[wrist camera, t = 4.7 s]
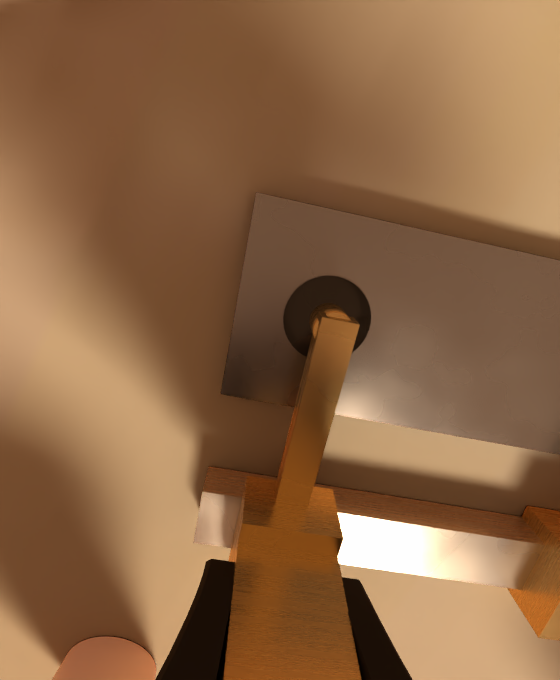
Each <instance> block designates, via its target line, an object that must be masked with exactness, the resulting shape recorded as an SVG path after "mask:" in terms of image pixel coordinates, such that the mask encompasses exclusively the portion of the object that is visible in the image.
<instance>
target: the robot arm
mask: <svg viewBox="0 0 560 680" xmlns="http://www.w3.org/2000/svg"><path fill="white" fill-rule="evenodd" d="M234 568H235V562H230V561H223V560H215V559H210V560H208V561H207V562H206V565H205V569H204V573H203V576H202V579H201V582H200V585H199V588H198V590H197V593H196V596H195V598H194V601H193V603H192V605H191V608H190V610H189V612H188V615H187V617H186V619H185V621H184V623H183V626H182V628H181V630H180V632H179V634H178V636H177V638H176V640H175V642H174V645H173V647H172V649H171V651H170V653H169V655H168V657H167V659H166V661H165V663H164V664H163V666H162V668H161V670H160V672H159V674H158V676H157V677H156V679H155V680H216V678H217V672H218V667H219V662H220V657H221V652H222V647H223V642H224V637H225V631H226V626H227V621H228V616H229V611H230V606H231V601H232V594H233V582H234ZM342 581H343V587H344V592H345V597H346V602H347V607H348V615H349V619H350V623H351V628H352V633H353V638H354V643H355V648H356V654H357V659H358V664H359V669H360V674H361V679H362V680H412V678H411V676H410V674H409V673H408V671H407V669H406V667H405V666H404V664H403V662H402V660H401V659H400V657H399V655H398V653H397V651H396V649H395V648H394V646H393V644H392V642H391V640H390V638H389V636H388V634H387V633H386V631H385V629H384V627H383V625H382V623H381V621H380V619H379V617H378V615H377V613H376V611H375V609H374V607H373V605H372V604H371V602H370V600H369V598H368V596H367V594H366V592H365V590H364V588H363V586H362V584H361V582H360V581H359V580H357V579H350V578H343V577H342Z"/></svg>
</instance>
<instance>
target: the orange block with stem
mask: <svg viewBox="0 0 560 680" xmlns="http://www.w3.org/2000/svg"><path fill="white" fill-rule="evenodd" d="M309 323H310V328H311V330H312V333H313V334H312V338H311V342H310V347H309V351H308V355H307V359H306V363H305V367H304V371H303V375H302V379H301V383H300V387H299V391H298V395H297V399H296V403H295V407H294V411H293V415H292V419H291V424H290V428H289V432H288V436H287V440H286V444H285V448H284V452H283V456H282V460H281V464H280V468H279V472H278V476H277V480H272V479H266V478H259V477H253V476H247V478H246V482H245V487H244V492H243V496H242V501H241V505H240V510H239V515H238V519H237V524H236V529H235V533H234V538H233V542H232V547H231V552H230V556H229V561H230V562H235V568H234V582H233V594H232V601H231V606H230V611H229V616H228V621H227V626H226V631H225V637H224V642H223V647H222V652H221V657H220V662H219V667H218V672H217V678H216V680H362V679H361V674H360V669H359V664H358V659H357V654H356V648H355V643H354V638H353V633H352V628H351V623H350V619H349V615H348V607H347V602H346V597H345V592H344V587H343V581H342V576H341V571H340V566H339V561H338V554H339V551H340V548H341V545H342V542H343V539H344V538H343V533H342V529H341V524H340V520H339V515H338V511H337V507H336V502H335V498H334V493H333V489H328V488H321V487H315V486H314V484H315V480H316V477H317V473H318V470H319V466H320V463H321V459H322V456H323V452H324V449H325V445H326V442H327V438H328V435H329V431H330V428H331V424H332V420H333V417H334V413H335V410H336V406H337V403H338V399H339V396H340V392H341V389H342V385H343V382H344V378H345V375H346V371H347V368H348V364H349V361H350V357H351V354H352V350H353V347H354V343H355V340H356V336H357V333H358V329H359V326H360V324H359V323H358V322H357V321H356V320H355V318H354V317H350V316H347V314H346V313H345V312H344V311H343V309H342V308H341V307H340V306H338V305H336V304H333V303H324V304H321V305H319V306H317V307H316V308H315V309H314V310H313V312H312V313H311V315H310V320H309Z"/></svg>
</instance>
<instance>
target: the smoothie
mask: <svg viewBox="0 0 560 680" xmlns="http://www.w3.org/2000/svg"><path fill="white" fill-rule="evenodd" d="M155 676H156V665H155V662H154V660H153V658H152V656H151V655H150V654H149V653H148V652H147V651H146V650H145V649H144V648H142V647H141V646H139V645H138V644H136V643H134V642H131V641H129V640H126V639H122V638H117V637H107V636H105V637H94V638H90V639H87V640H84V641H82V642H80V643H78V644H76V645H75V646H74V647H72V648H71V650H70V651H69V652H68V654H67V655H66V657H65V659H64V660H63V662H62V664H61V665H60V667H59V669H58V670H57V672H56V674H55V675H54V677H53V679H52V680H155Z"/></svg>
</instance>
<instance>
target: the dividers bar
mask: <svg viewBox="0 0 560 680" xmlns="http://www.w3.org/2000/svg"><path fill="white" fill-rule="evenodd" d="M247 476H253V477H259V478H266V479H272V480H277V477H272V476H266V475H260V474H254V473H247V472H241V471H235V470H229V469H223V468H217V467H210V466H209V468H208V472H207V476H206V479H205V483H204V487H203V491H202V497H201V502H200V508H199V514H198V519H197V525H196V531H195V537H194V542H193V543H199V544H206V545H213V546H220V547H227V548H231V547H232V542H233V538H234V533H235V529H236V524H237V519H238V515H239V510H240V505H241V501H242V496H243V492H244V487H245V482H246V478H247ZM314 486H315V487H321V488H328V489H333V493H334V498H335V502H336V507H337V511H338V515H339V520H340V524H341V529H342V533H343V538H344V539H343V542H342V545H341V548H340V551H339V554H338V561H339V564H345V565H352V566H359V567H366V568H373V569H379V570H386V571H393V572H400V573H407V574H414V575H421V576H428V577H435V578H442V579H449V580H456V581H463V582H470V583H476V584H483V585H490V586H497V587H504V588H507V589H508V590H509V592H510V594H511V595H512V597H513V598H514V600H515V601H516V603H517V605H518V606H519V608H520V609H521V611H522V612H523V614H524V616H525V617H526V619H527V620H528V622H529V623H530V625H531V627H532V628H533V630H534V631H535V633H536V634H537V636H538V638H544V639H552V640H559V641H560V511H557V510H551V509H545V508H538V507H532V506H527V507H526V509H525V511H524V513H523V515H522V517H519V516H513V515H507V514H501V513H495V512H489V511H482V510H476V509H470V508H464V507H458V506H451V505H445V504H439V503H433V502H427V501H421V500H414V499H408V498H402V497H396V496H390V495H383V494H377V493H371V492H365V491H359V490H353V489H346V488H340V487H334V486H328V485H322V484H314Z"/></svg>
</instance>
